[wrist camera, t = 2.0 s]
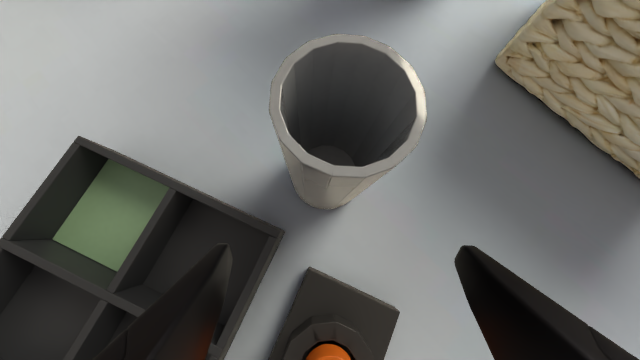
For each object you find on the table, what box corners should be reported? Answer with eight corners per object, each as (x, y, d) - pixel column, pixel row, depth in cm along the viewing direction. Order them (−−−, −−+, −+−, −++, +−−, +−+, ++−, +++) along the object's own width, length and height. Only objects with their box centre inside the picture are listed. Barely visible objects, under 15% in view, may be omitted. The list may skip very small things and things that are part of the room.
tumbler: (343, 221, 21) (394, 205, 9) (280, 191, 22) (240, 135, 9) (369, 160, 23) (446, 69, 10) (309, 133, 23) (310, 12, 10)
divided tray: (177, 455, 17) (144, 511, 14) (-25, 347, 18) (-103, 374, 15) (285, 231, 21) (280, 231, 18) (114, 150, 22) (78, 135, 18)
